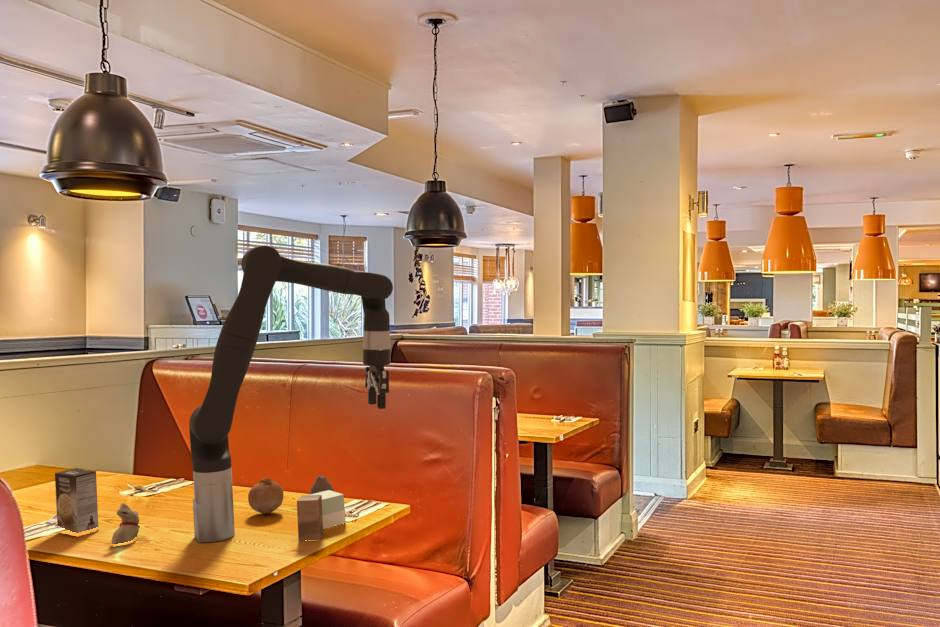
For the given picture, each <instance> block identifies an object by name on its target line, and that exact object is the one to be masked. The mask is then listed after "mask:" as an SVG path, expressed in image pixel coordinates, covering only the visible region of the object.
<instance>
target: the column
mask: <svg viewBox="0 0 940 627" xmlns="http://www.w3.org/2000/svg"><path fill="white" fill-rule="evenodd" d="M296 512H297V513H296V514H297V518H296V519H297V537H298V538H297V539H298V542H299V541H300V542H309V541H308V540H319V539H320V538H322V537H323V536H324V530H323V515H322V495H310V494H307V495H306V494H304V495H303V494H302V495H301V496H299V497H298V499H297V500H296ZM322 535H323V536H322ZM321 536H322V537H321ZM305 540H307V541H305ZM320 540H321V539H320ZM320 540H319V541H320Z"/></svg>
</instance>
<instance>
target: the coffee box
mask: <svg viewBox="0 0 940 627" xmlns="http://www.w3.org/2000/svg"><path fill="white" fill-rule="evenodd" d="M54 482H55V503H56V507H55V508H56V522H57V524H56V525H57V527H58V526H60V527H62V528H65V529H67V530H70V531H72V532H76V533H79V532H82V531H86V530H90V529H93V528H96V527H98V528H99V512H98V511H99V509H98V508H99V507H98V506H99V505H98V490H97V488H98V487H97V485H98V484H97V471H96V470H93V469H92V470H91V469H85V468H79V467H74V468H70V469H66V470H62V471H58V472H55V473H54Z"/></svg>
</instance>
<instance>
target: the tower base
mask: <svg viewBox="0 0 940 627" xmlns="http://www.w3.org/2000/svg"><path fill="white" fill-rule="evenodd" d="M343 523H346V509H345V508H344V510H341V511H337V512H333V513H330V514H326V515H323V529H325V528H328V529H330V528H329V527H332V526H335V525H339V524H343ZM343 525H344V524H343ZM339 526H340V525H339ZM332 528H333V527H332ZM325 530H326V529H325Z"/></svg>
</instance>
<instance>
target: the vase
mask: <svg viewBox="0 0 940 627" xmlns="http://www.w3.org/2000/svg"><path fill="white" fill-rule="evenodd" d="M327 490H330V491H334V492H335V489H334V487H333V485H332V483H331V482H330V481H329V480H328V479H327V477H326V476H325V475H319V476H317V477H316V479H315V481H314V482H313V484H312V486H311V487H310V490H309V495H310V494H314V493H319V492H323V491H327Z"/></svg>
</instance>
